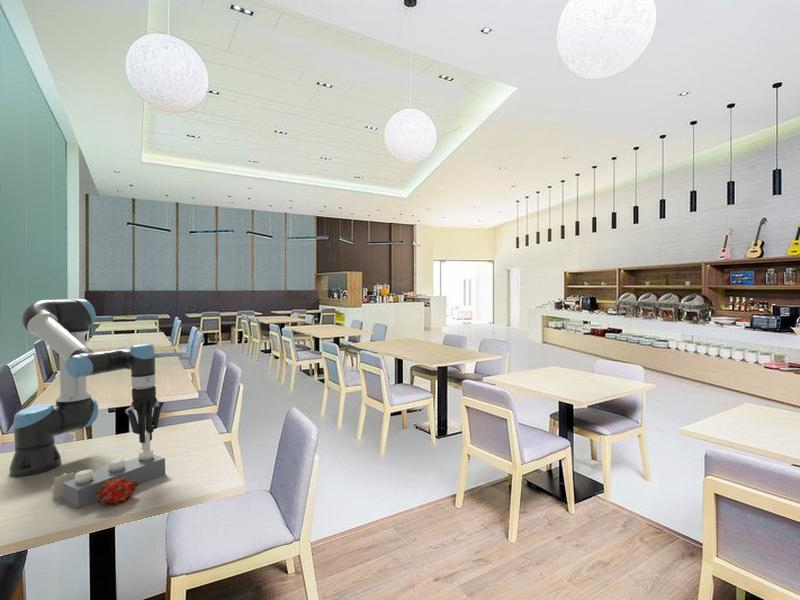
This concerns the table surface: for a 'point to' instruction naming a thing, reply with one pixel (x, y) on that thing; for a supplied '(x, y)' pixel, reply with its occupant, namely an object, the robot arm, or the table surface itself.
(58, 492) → the architectural model
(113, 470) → the knob mid
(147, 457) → the knob far
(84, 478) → the knob near
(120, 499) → the dragon fruit
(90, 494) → the mount
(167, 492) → the table surface
